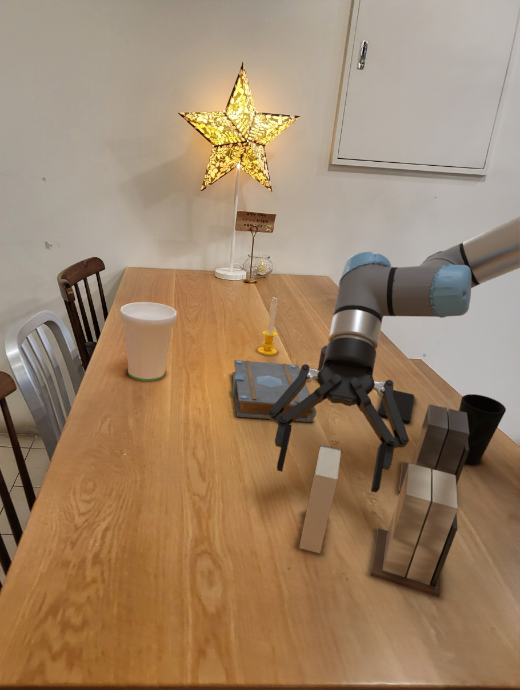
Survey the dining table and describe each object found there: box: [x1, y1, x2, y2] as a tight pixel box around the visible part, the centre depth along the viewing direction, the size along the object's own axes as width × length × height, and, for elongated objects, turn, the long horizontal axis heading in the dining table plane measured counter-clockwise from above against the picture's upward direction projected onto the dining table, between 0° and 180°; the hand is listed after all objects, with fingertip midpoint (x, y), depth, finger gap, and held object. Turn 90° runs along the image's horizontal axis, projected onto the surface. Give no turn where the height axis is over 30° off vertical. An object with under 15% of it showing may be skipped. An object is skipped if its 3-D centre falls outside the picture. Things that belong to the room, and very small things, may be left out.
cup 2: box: [458, 393, 507, 466], centre depth 102 cm, size 8×8×12 cm
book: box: [231, 359, 317, 423], centre depth 119 cm, size 21×16×5 cm
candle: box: [257, 295, 279, 356], centre depth 142 cm, size 5×5×16 cm
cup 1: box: [119, 301, 178, 382], centre depth 122 cm, size 12×12×15 cm
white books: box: [370, 462, 459, 598], centre depth 74 cm, size 9×10×14 cm
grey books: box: [398, 403, 469, 495], centre depth 92 cm, size 9×10×14 cm
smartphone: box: [377, 389, 415, 424], centre depth 122 cm, size 7×1×15 cm
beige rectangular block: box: [298, 444, 343, 554], centre depth 78 cm, size 3×8×13 cm, turn 165°
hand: (326, 479), depth 77 cm, fingers open, 13 cm apart
